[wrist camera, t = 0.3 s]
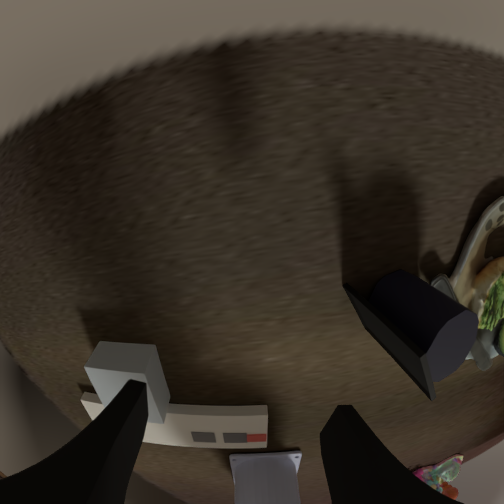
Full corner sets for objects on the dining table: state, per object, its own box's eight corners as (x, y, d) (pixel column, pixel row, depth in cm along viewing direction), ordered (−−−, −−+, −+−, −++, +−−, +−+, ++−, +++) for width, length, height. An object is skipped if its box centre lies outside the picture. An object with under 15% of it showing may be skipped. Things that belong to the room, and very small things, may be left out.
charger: (175, 407, 23) (169, 436, 20) (126, 402, 23) (117, 429, 20) (156, 342, 21) (144, 373, 17) (100, 339, 21) (84, 366, 17)
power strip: (266, 438, 25) (266, 449, 24) (104, 426, 25) (100, 435, 24) (267, 404, 23) (268, 416, 22) (84, 391, 23) (79, 401, 21)
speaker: (346, 340, 20) (402, 422, 12) (341, 283, 19) (413, 359, 11) (415, 314, 21) (483, 374, 12) (417, 259, 19) (501, 309, 11)
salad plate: (375, 356, 22) (395, 393, 18) (461, 152, 16) (504, 160, 12) (489, 361, 24) (508, 384, 20) (552, 228, 18) (579, 242, 14)
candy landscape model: (364, 513, 43) (371, 541, 34) (343, 496, 35) (352, 536, 27) (457, 469, 40) (469, 495, 31) (468, 436, 32) (487, 471, 23)
